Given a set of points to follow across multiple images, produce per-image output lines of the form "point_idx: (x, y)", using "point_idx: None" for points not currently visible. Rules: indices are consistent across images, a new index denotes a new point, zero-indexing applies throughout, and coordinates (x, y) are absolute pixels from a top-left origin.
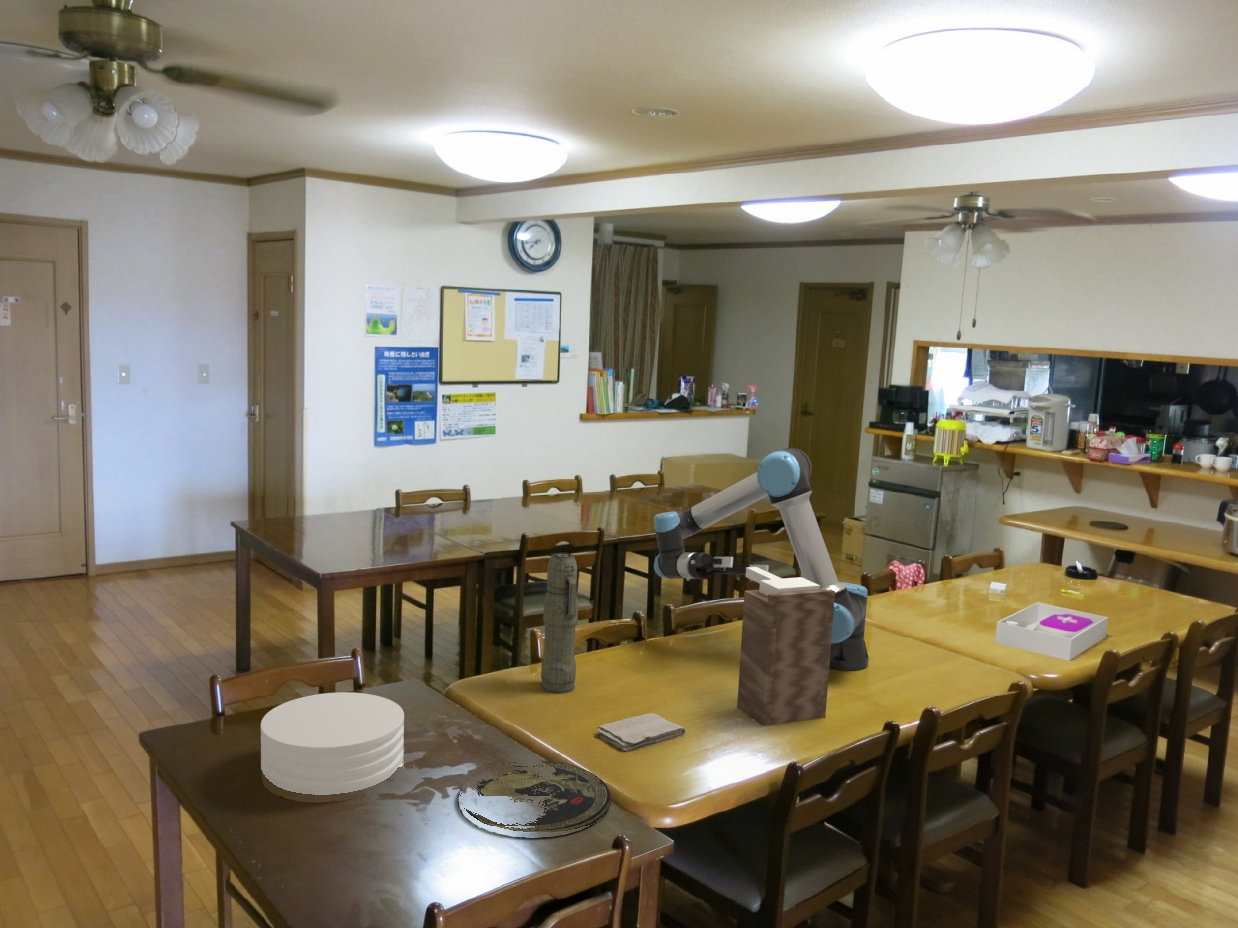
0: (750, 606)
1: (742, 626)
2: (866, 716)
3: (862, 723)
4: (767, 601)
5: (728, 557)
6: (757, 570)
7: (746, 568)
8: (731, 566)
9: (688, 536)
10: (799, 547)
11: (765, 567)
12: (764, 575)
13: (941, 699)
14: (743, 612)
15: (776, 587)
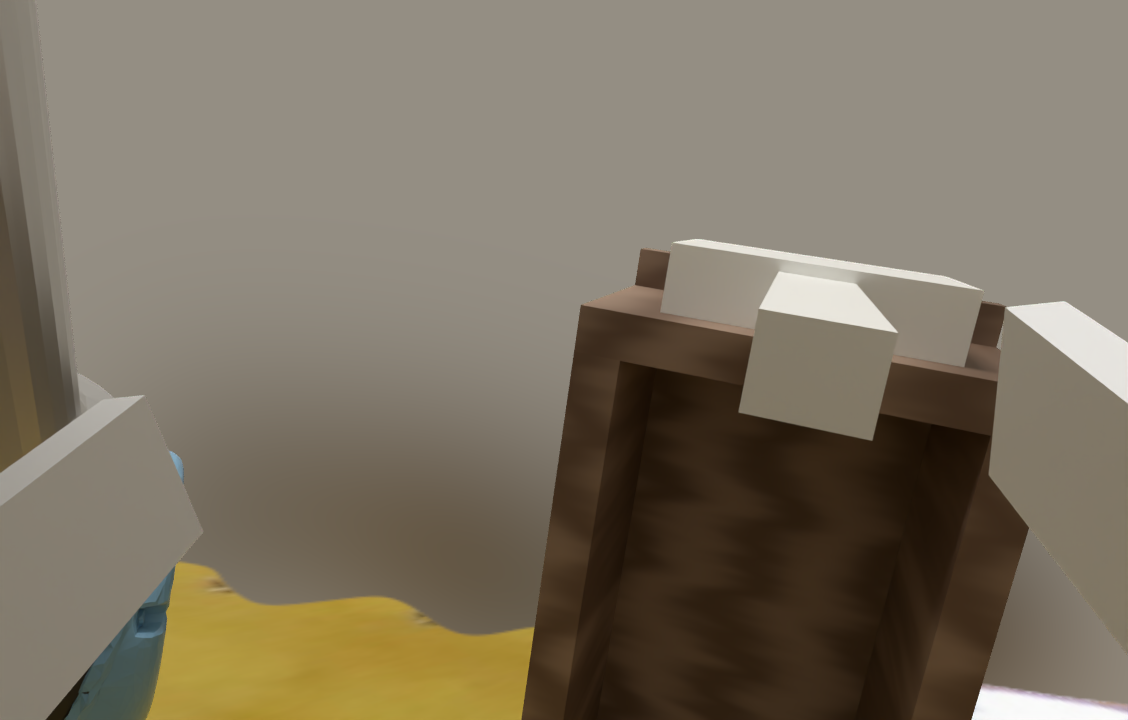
0: None
1: (998, 622)
2: (446, 663)
3: (510, 654)
4: (989, 348)
5: (1104, 347)
6: (833, 306)
7: (894, 342)
8: (1009, 465)
9: None
10: (10, 56)
11: (143, 451)
12: (860, 295)
13: None
14: (1025, 534)
15: (943, 277)
